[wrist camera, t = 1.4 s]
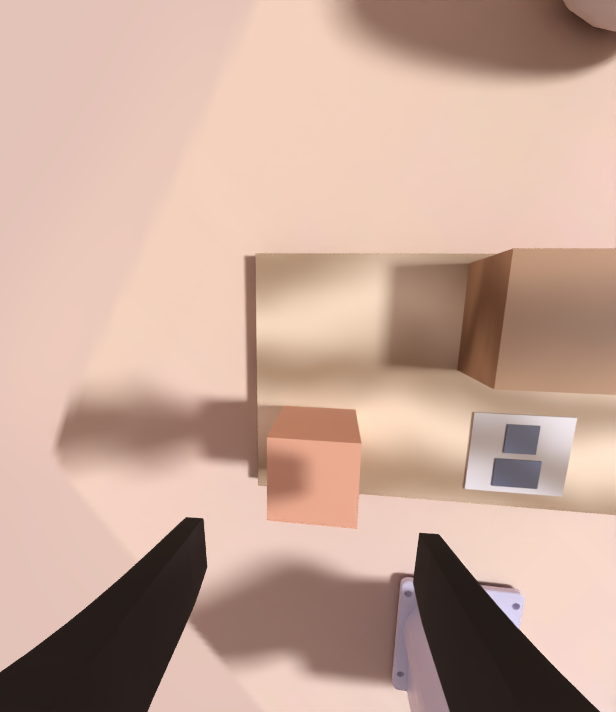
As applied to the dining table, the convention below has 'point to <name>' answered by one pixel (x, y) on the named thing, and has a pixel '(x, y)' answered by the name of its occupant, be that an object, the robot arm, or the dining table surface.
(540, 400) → the build board
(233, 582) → the dining table surface
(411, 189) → the dining table surface
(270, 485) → the top block
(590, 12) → the donut
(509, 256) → the base block
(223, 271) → the dining table surface
